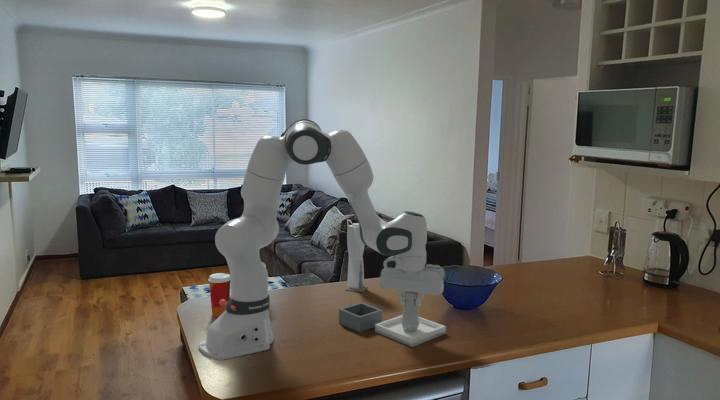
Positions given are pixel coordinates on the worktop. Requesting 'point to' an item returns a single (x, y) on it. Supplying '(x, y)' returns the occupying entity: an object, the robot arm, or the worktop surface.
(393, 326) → the tray
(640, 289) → the worktop surface
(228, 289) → the paper cup
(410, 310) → the salt shaker
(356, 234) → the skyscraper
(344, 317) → the hollow square frame
